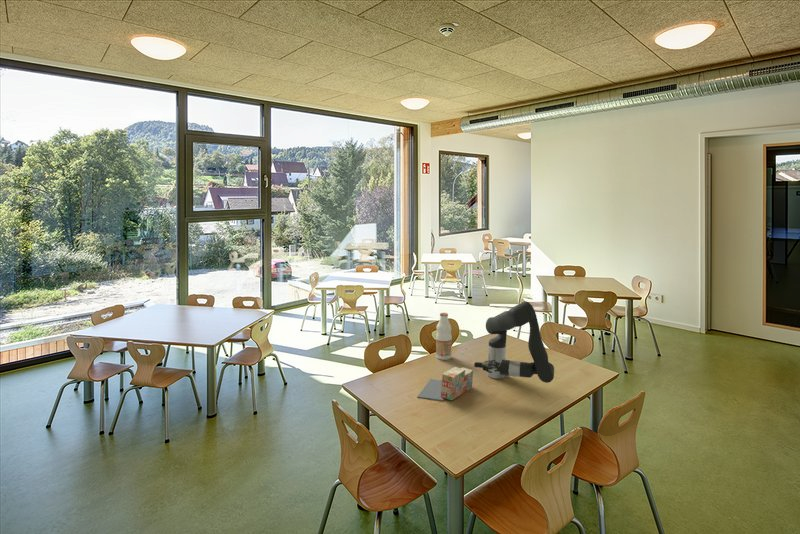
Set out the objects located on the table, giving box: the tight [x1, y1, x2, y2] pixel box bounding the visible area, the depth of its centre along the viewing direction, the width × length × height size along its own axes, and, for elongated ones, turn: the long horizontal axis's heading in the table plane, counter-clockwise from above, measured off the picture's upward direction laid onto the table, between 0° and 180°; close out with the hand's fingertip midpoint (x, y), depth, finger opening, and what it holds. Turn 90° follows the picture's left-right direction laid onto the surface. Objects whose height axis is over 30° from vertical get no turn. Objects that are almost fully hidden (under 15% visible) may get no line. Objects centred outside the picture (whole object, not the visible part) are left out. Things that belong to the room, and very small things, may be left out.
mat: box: [417, 378, 446, 402], centre depth 236 cm, size 13×24×1 cm, turn 161°
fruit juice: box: [435, 312, 453, 361], centre depth 283 cm, size 9×9×28 cm
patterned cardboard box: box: [441, 366, 474, 401], centre depth 232 cm, size 21×6×12 cm, turn 144°
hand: (474, 364), depth 228 cm, fingers closed
